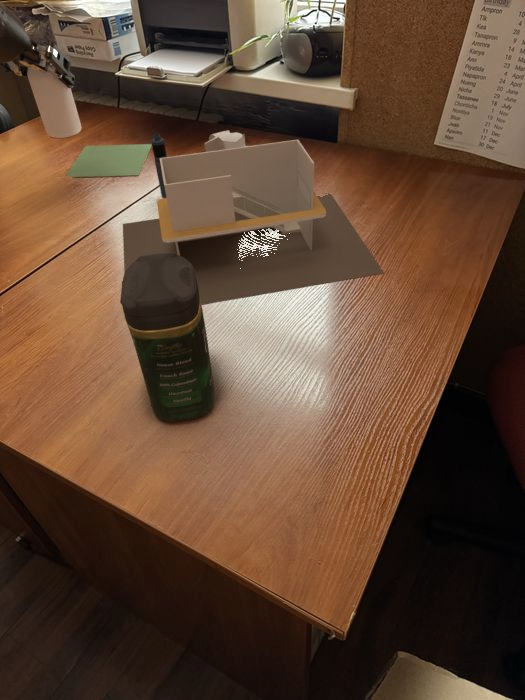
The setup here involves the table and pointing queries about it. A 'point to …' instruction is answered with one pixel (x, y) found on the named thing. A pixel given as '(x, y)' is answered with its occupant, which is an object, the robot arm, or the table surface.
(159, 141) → the vaping device
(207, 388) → the coffee jar
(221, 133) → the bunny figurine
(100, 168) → the mat
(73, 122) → the can
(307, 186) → the architectural model
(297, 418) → the table surface
